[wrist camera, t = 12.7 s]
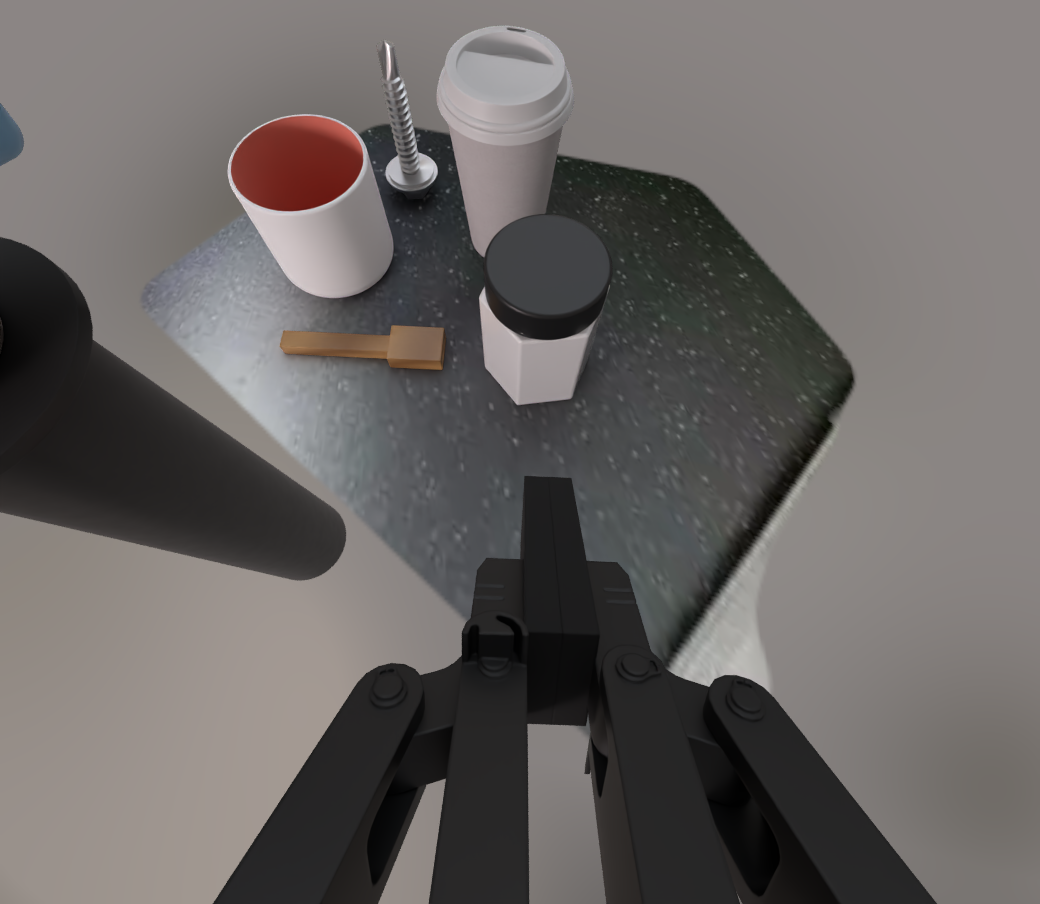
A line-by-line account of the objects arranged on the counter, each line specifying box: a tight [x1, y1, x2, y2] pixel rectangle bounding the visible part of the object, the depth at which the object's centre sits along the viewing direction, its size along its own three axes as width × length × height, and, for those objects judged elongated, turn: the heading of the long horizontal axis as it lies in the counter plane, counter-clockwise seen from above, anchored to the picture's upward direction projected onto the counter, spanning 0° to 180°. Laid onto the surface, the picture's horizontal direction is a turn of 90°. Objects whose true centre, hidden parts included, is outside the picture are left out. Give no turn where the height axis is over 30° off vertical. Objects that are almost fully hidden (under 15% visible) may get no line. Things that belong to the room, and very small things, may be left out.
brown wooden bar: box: [280, 325, 446, 370], centre depth 41 cm, size 13×3×2 cm, turn 88°
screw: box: [376, 40, 438, 199], centre depth 42 cm, size 13×5×5 cm
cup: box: [228, 114, 394, 298], centre depth 40 cm, size 10×10×10 cm
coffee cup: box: [437, 26, 574, 257], centre depth 39 cm, size 10×10×15 cm
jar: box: [479, 214, 612, 405], centre depth 36 cm, size 9×8×12 cm
